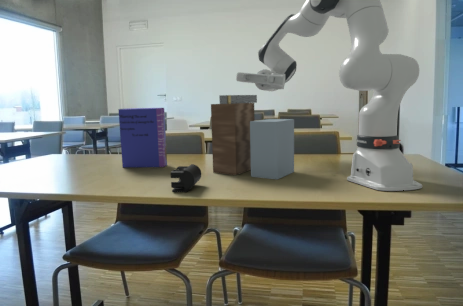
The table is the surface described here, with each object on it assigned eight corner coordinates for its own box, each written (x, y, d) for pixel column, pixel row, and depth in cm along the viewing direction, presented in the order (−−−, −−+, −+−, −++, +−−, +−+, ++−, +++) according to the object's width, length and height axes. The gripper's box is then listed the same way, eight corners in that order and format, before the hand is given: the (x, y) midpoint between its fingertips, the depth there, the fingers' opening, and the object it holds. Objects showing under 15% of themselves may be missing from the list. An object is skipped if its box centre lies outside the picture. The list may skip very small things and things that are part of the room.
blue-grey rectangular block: (269, 169, 135) (268, 119, 133) (294, 171, 130) (294, 119, 127) (250, 176, 124) (249, 121, 121) (277, 179, 118) (276, 121, 116)
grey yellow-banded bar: (249, 102, 146) (249, 95, 145) (257, 102, 144) (257, 94, 143) (218, 104, 127) (218, 95, 127) (227, 103, 125) (227, 95, 125)
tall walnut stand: (233, 166, 144) (231, 103, 140) (255, 168, 139) (254, 102, 135) (213, 172, 132) (210, 104, 129) (236, 175, 127) (234, 103, 123)
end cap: (194, 193, 104) (193, 170, 103) (171, 192, 105) (169, 170, 104) (202, 184, 114) (201, 164, 113) (180, 184, 115) (179, 164, 114)
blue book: (167, 165, 150) (164, 107, 147) (164, 167, 146) (160, 107, 142) (127, 165, 152) (123, 108, 148) (122, 167, 147) (118, 108, 144)
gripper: (243, 70, 157) (231, 67, 144) (289, 74, 149) (280, 71, 137) (241, 85, 158) (229, 83, 145) (287, 89, 150) (278, 88, 138)
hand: (254, 77), depth 141 cm, fingers open, 8 cm apart
